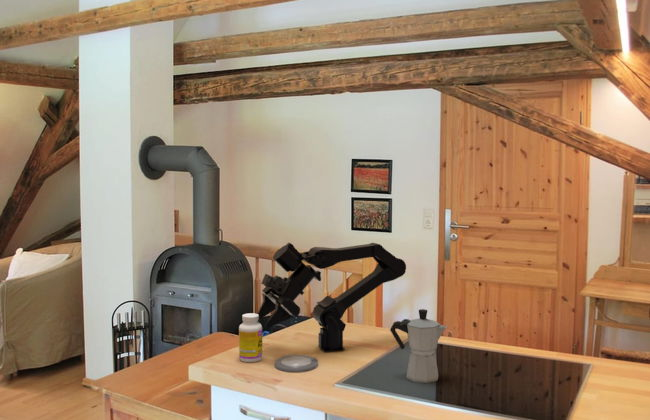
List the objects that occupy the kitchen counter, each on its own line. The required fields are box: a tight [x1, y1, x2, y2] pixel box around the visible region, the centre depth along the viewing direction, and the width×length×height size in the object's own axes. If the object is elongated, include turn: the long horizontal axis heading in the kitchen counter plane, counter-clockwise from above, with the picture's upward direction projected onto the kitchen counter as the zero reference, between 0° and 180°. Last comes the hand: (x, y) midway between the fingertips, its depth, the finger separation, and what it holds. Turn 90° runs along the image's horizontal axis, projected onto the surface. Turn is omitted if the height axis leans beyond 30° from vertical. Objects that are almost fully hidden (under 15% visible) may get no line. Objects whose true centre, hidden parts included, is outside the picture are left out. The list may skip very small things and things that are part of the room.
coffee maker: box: [389, 308, 448, 384], centre depth 162 cm, size 15×9×18 cm, turn 75°
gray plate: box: [274, 354, 319, 373], centre depth 172 cm, size 12×12×1 cm
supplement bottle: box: [238, 312, 264, 363], centre depth 177 cm, size 7×7×13 cm
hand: (261, 323), depth 178 cm, fingers open, 9 cm apart
